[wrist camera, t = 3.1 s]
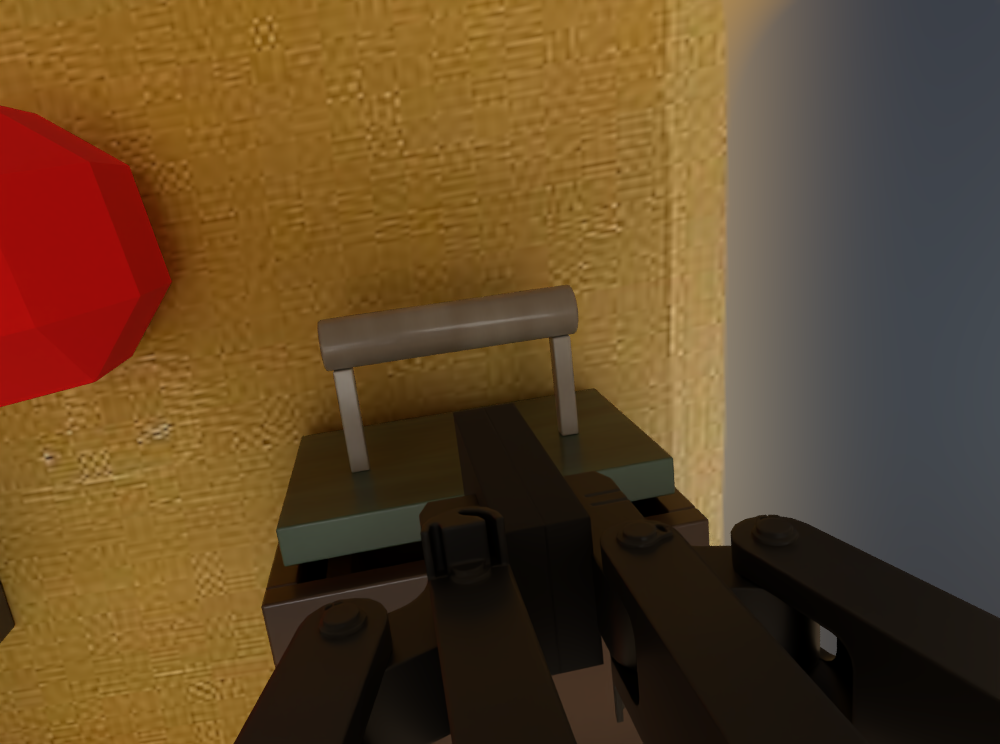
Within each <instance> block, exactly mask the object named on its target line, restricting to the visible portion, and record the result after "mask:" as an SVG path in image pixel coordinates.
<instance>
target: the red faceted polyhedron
mask: <svg viewBox="0 0 1000 744" xmlns="http://www.w3.org/2000/svg"><path fill="white" fill-rule="evenodd" d="M171 282H172V281H171V278H170V275H169V273H168V270H167V267H166V265H165V262H164V259H163V256H162V254H161V251H160V248H159V246H158V243H157V240H156V237H155V235H154V232H153V229H152V226H151V224H150V221H149V218H148V216H147V213H146V210H145V207H144V205H143V202H142V199H141V197H140V194H139V191H138V188H137V186H136V183H135V180H134V178H133V175H132V172H131V169H130V167H129V165H127V164H125V163H123V162H122V161H120V160H118V159H116V158H114V157H113V156H111V155H109V154H107V153H105V152H104V151H102V150H100V149H98V148H97V147H95V146H93V145H91V144H89V143H88V142H86V141H84V140H82V139H80V138H79V137H77V136H75V135H73V134H72V133H70V132H68V131H66V130H64V129H63V128H61V127H59V126H57V125H55V124H54V123H52V122H50V121H48V120H46V119H45V118H43V117H41V116H39V115H38V114H35V113H31V112H26V111H22V110H18V109H13V108H9V107H4V106H0V407H2V406H6V405H10V404H14V403H18V402H21V401H25V400H29V399H33V398H36V397H40V396H44V395H48V394H52V393H55V392H59V391H63V390H67V389H70V388H74V387H78V386H82V385H86V384H89V383H93V382H96V381H97V380H99V379H100V378H102V377H103V376H104V375H106V374H107V373H109V372H110V371H112V370H113V369H114V368H116V367H117V366H119V365H120V364H122V363H123V362H124V361H126V360H127V359H129V358H130V357H132V355H133V353H134V352H135V350H136V348H137V346H138V344H139V342H140V340H141V338H142V336H143V335H144V333H145V331H146V329H147V327H148V325H149V323H150V321H151V320H152V318H153V316H154V314H155V312H156V310H157V308H158V306H159V305H160V303H161V301H162V299H163V297H164V295H165V293H166V291H167V289H168V288H169V286H170V284H171Z"/></svg>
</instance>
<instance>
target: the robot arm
mask: <svg viewBox="0 0 1000 744" xmlns="http://www.w3.org/2000/svg"><path fill="white" fill-rule="evenodd" d="M453 417H454V424H455V431H456V438H457V445H458V453H459V460H460V467H461V474H462V481H463V488H464V495H465V496H460V497H455V498H449V499H444V500H438V501H432V502H427V504H426V505H425V507H424V508H423V510H422V511H421V513H420V514H419V519H420V526H421V532H420V534H421V541H422V547H423V553H424V559H425V566H426V572H427V578H428V581H427V585H426V587H425V589H424V591H423V592H422V593H421V594H420V595H419V596H418V597H417V598H416V599H414V600H413V601H412V602H410V603H409V604H407V605H405V606H403V607H401V608H399V609H397V610H395V611H392V612H390V613H387V610H386V609H385V607H384V606H383V605H382V604H381V603H380V602H377V601H375V600H372V599H369V598H350V599H340V600H337V601H333V603H328V604H326V605H324V606H322V607H320V608H319V609H317V610H316V611H314V612H313V613H311V614H310V615H308V616H307V617H306V618H305V620H304V621H303V622H302V623H301V624H300V625H299V627H298V629H297V630H296V632H295V634H294V636H293V638H292V639H291V641H290V643H289V645H288V647H287V648H286V650H285V652H284V654H283V656H282V657H281V659H280V661H279V663H278V665H277V666H276V668H275V670H274V672H273V674H272V675H271V677H270V679H269V681H268V683H267V685H266V686H265V688H264V690H263V692H262V694H261V695H260V697H259V699H258V701H257V703H256V704H255V706H254V708H253V710H252V712H251V713H250V715H249V717H248V719H247V721H246V722H245V724H244V726H243V728H242V730H241V731H240V733H239V735H238V737H237V739H236V740H235V742H234V744H432V743H434V742H436V741H438V740H440V739H442V738H444V737H446V736H448V735H450V734H451V740H452V744H577V742H576V740H575V737H574V734H573V732H572V729H571V726H570V724H569V721H568V718H567V716H566V713H565V710H564V708H563V705H562V702H561V700H560V697H559V694H558V692H557V689H556V686H555V684H554V681H553V678H552V675H557V674H562V673H566V672H571V671H575V670H580V669H585V668H589V667H594V666H598V665H603V664H604V660H603V649H602V638H603V640H604V642H605V644H606V646H607V648H608V650H609V652H610V659H611V670H612V681H613V692H614V703H615V714H616V719H617V723H620V722H624V718H623V709H624V708H625V707H626V709H627V712H628V714H629V716H630V718H631V720H632V722H633V724H634V726H635V728H636V730H637V732H638V734H639V736H640V738H641V740H642V742H643V744H1000V618H998V617H996V616H994V615H992V614H990V613H988V612H986V611H984V610H982V609H980V608H978V607H976V606H974V605H971V604H970V603H968V602H965V601H964V600H962V599H959V598H957V597H955V596H953V595H951V594H949V593H947V592H945V591H943V590H941V589H939V588H937V587H935V586H933V585H931V584H929V583H927V582H925V581H923V580H920V579H919V578H917V577H914V576H913V575H910V574H909V573H907V572H905V571H902V570H900V569H898V568H896V567H894V566H892V565H890V564H888V563H886V562H884V561H882V560H880V559H878V558H876V557H874V556H871V555H870V554H868V553H866V552H864V551H862V550H860V549H858V548H855V547H853V546H852V545H849V544H847V543H845V542H843V541H841V540H839V539H837V538H835V537H833V536H831V535H829V534H827V533H825V532H823V531H821V530H819V529H817V528H815V527H813V526H811V525H809V524H807V523H804V522H801V521H798V520H796V519H793V518H787V517H780V516H778V515H768V516H767V515H759V516H757V517H753V518H748V519H745V520H743V521H741V522H739V523H737V524H735V526H734V527H733V529H732V531H731V546H692V545H690V544H689V542H688V541H687V540H686V539H685V538H684V537H683V536H682V535H681V534H680V533H679V531H678V530H676V529H675V528H673V527H672V526H670V525H669V524H665V523H662V522H659V521H654V520H646V519H645V518H644V517H643V515H642V514H641V513H640V512H639V511H638V510H637V508H636V507H635V506H634V505H633V504H632V502H631V501H630V500H628V499H627V496H626V495H625V494H624V493H623V492H622V491H620V488H619V487H618V486H617V485H616V483H615V482H614V481H613V480H612V479H611V478H610V477H607V476H605V475H603V474H600V473H598V472H596V471H589V472H584V473H578V474H572V475H567V476H562V474H561V473H560V471H559V470H558V468H557V467H556V465H555V464H554V462H553V461H552V459H551V458H550V456H549V455H548V454H547V452H546V451H545V449H544V448H543V446H542V445H541V443H540V442H539V440H538V439H537V437H536V436H535V434H534V433H533V431H532V430H531V428H530V427H529V425H528V424H527V422H526V421H525V419H524V418H523V417H522V415H521V414H520V412H519V411H518V409H517V408H516V406H515V405H514V403H508V404H502V405H496V406H490V407H484V408H478V409H472V410H465V411H459V412H453ZM820 625H821V626H822V627H824V628H826V629H827V630H829V631H830V632H832V633H833V634H834V635H835V636H836V637H837V653H836V656H835V655H832V654H830V653H828V652H827V651H825V650H824V649H822V648H821V647H820ZM601 636H602V638H601Z"/></svg>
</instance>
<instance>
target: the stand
mask: <svg viewBox="0 0 1000 744" xmlns="http://www.w3.org/2000/svg"><path fill="white" fill-rule="evenodd" d="M13 627H14V623H13V620H12V617H11V614H10V611H9V608H8V605H7V602H6V599H5V596H4V593H3V590H2V587H1V584H0V643H1V642H2V641H3V639H4V638H5V637H6V636H7V634H8V633H9V632H10V631H11V630H12V628H13Z"/></svg>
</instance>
